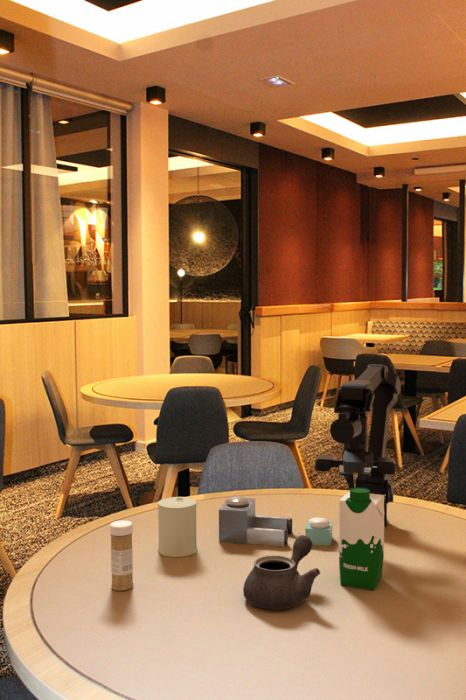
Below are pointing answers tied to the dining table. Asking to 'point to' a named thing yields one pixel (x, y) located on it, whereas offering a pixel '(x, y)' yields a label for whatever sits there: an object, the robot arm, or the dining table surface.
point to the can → (177, 526)
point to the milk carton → (361, 538)
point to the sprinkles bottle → (121, 555)
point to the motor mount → (251, 524)
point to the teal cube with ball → (319, 531)
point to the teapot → (280, 579)
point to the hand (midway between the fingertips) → (354, 499)
